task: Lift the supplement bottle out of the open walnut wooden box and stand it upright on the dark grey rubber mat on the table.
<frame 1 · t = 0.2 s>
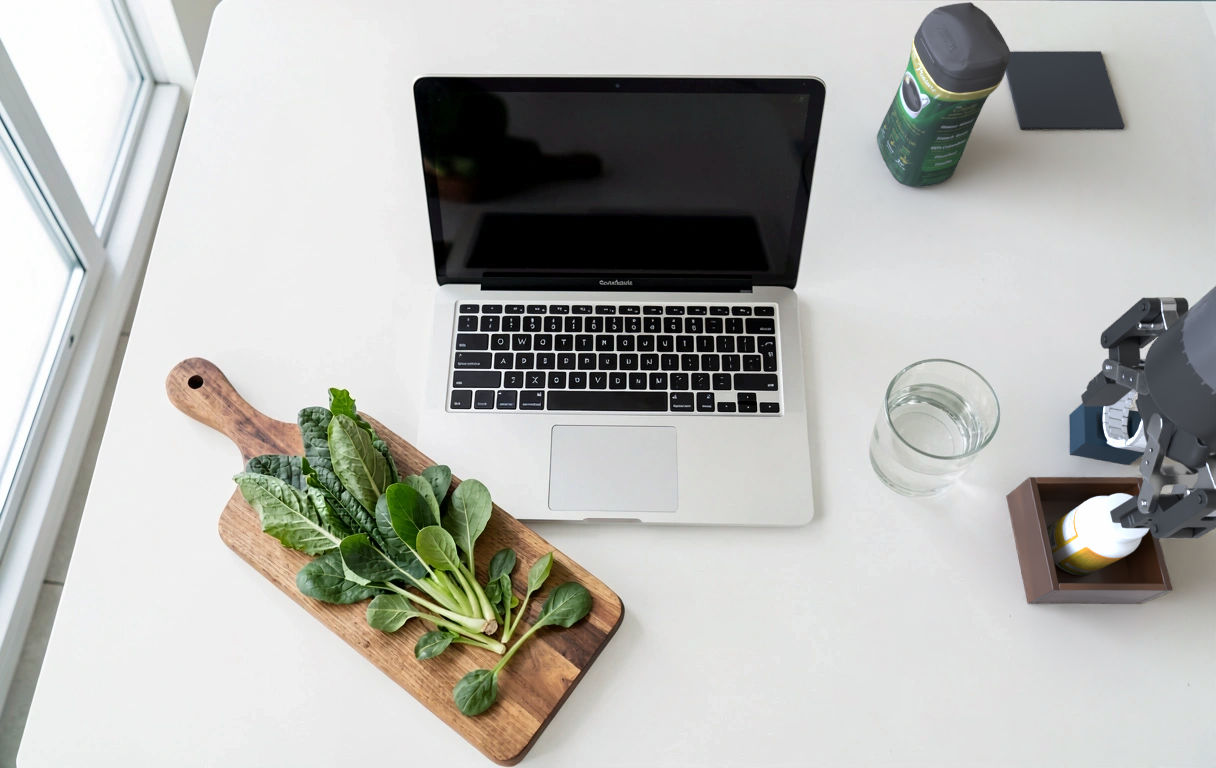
hand: (1109, 458, 62), 24 cm above the table, tool pointing down, fingers open, 8 cm apart
wooden box: (1071, 548, 84), on the table
mat: (1060, 90, 108), on the table
watch: (1097, 439, 89), on the table
coffee jar: (913, 158, 104), on the table
supplement bottle: (1072, 548, 84), resting on wooden box
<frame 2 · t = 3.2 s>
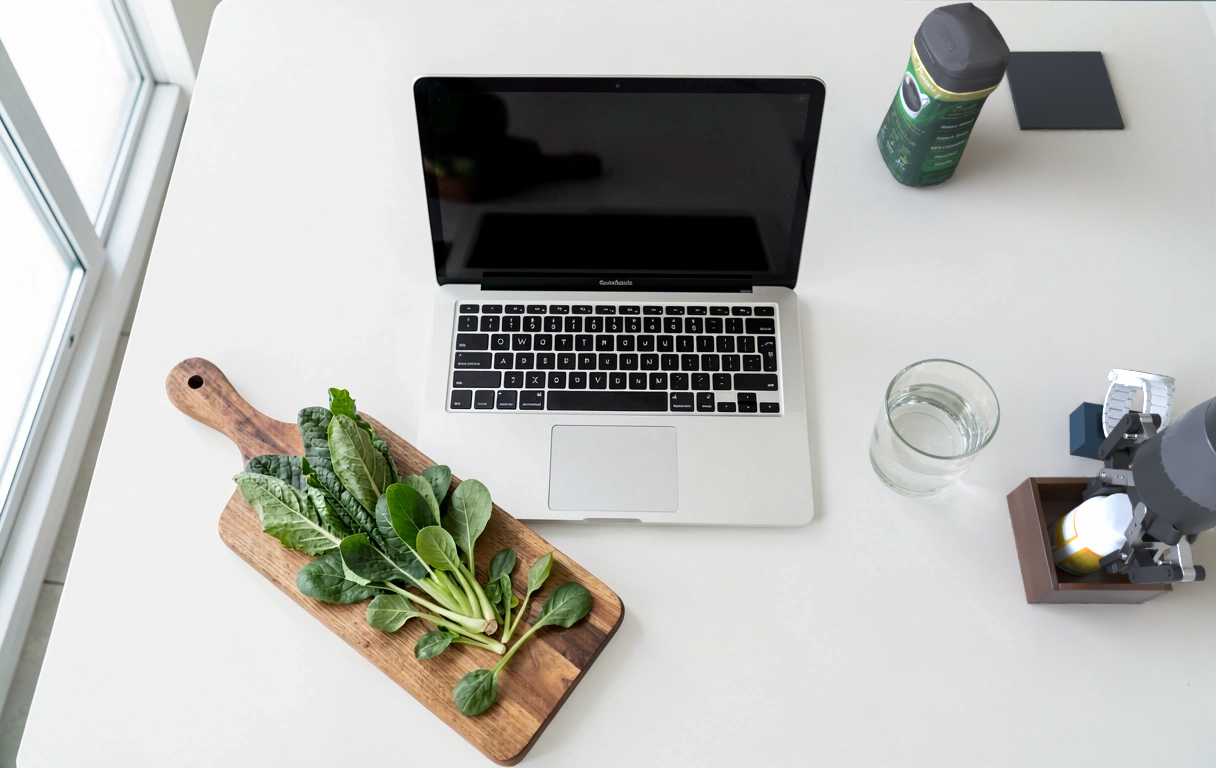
hand: (1101, 530, 78), 6 cm above the table, tool pointing down, fingers closed on supplement bottle, 5 cm apart
supplement bottle: (1072, 548, 84), resting on wooden box, touching gripper
everything else where it was.
when the fingers open (6 cm above the table, at t = 13.4 s): supplement bottle stays where it is, resting on mat.
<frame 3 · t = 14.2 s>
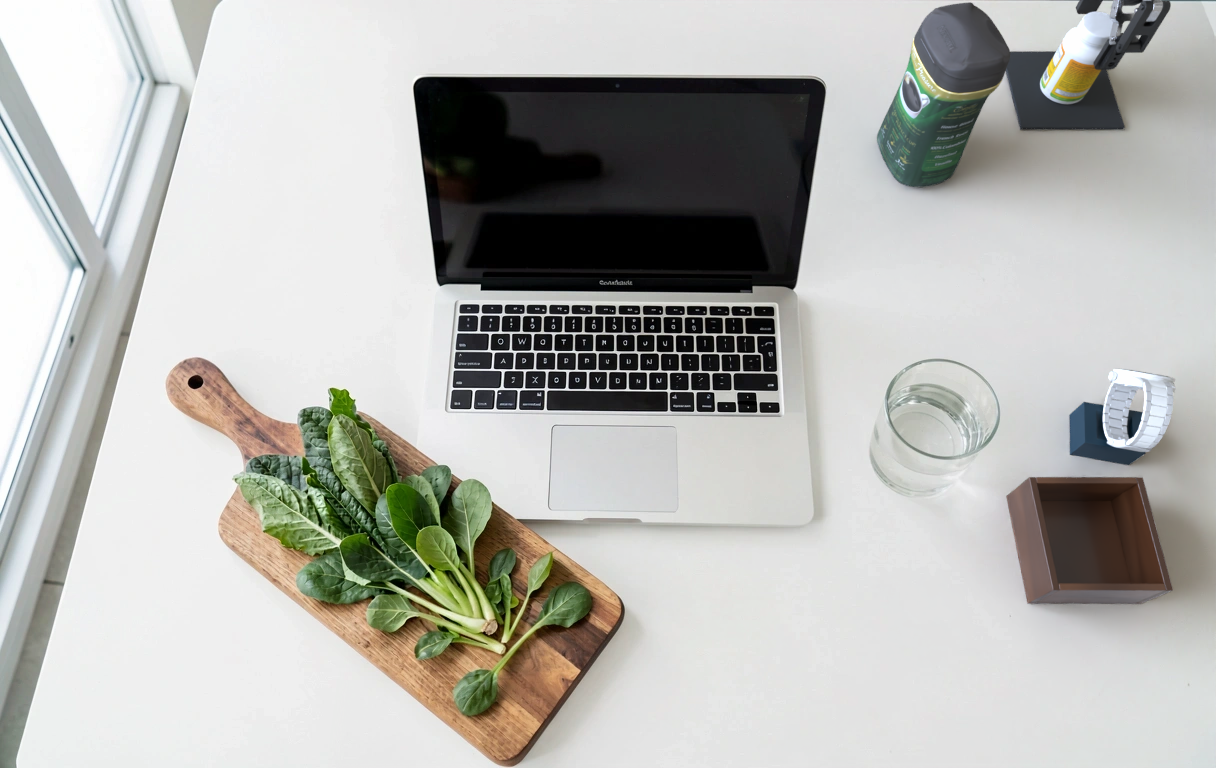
hand: (1093, 39, 101), 8 cm above the table, tool pointing down, fingers open, 8 cm apart
supplement bottle: (1061, 89, 108), resting on mat
everything else where it was.
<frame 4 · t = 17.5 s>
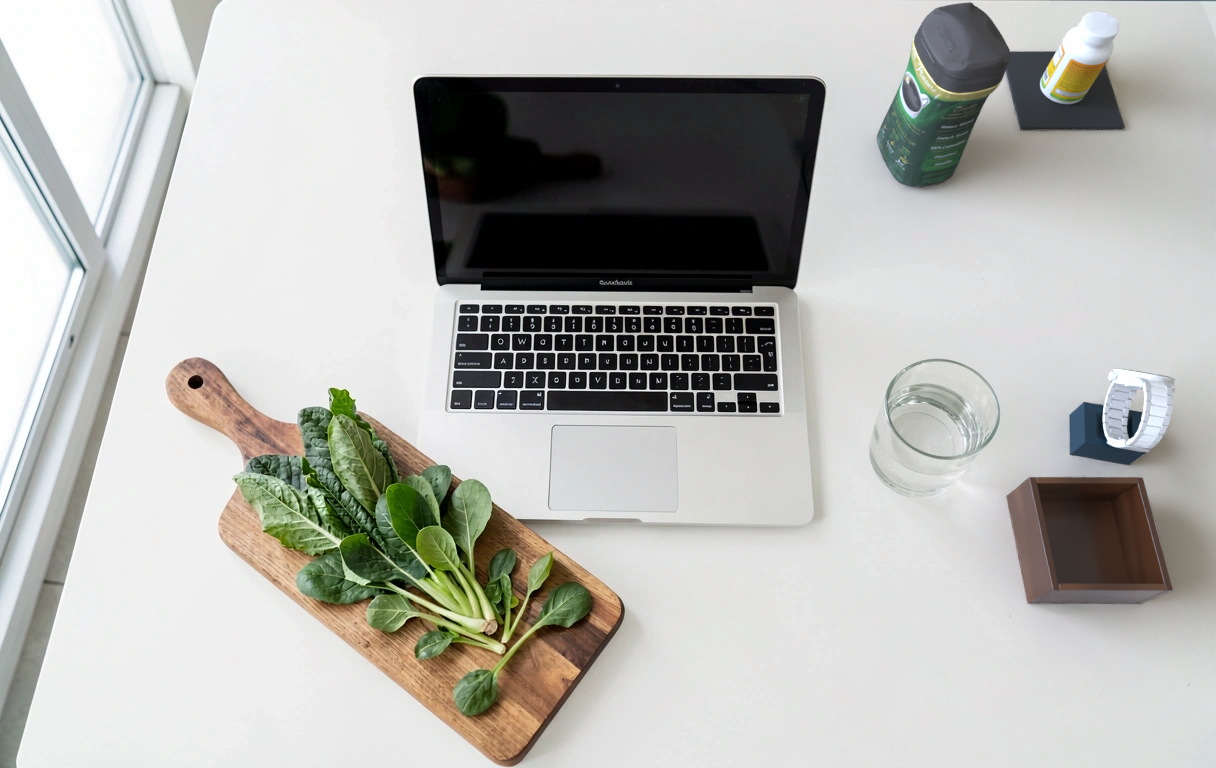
nothing on the table moved.
at the end: supplement bottle inside the target area on the mat (0.1 cm from its centre), point 0.2 cm above the mat's base; supplement bottle tilted 0°; the gripper is holding nothing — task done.
